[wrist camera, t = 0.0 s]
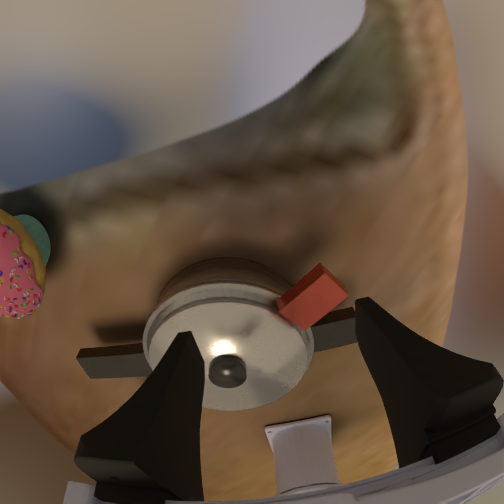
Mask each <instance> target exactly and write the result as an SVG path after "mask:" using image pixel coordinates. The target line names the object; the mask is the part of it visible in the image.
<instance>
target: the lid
mask: <svg viewBox="0 0 504 504" xmlns="http://www.w3.org/2000/svg"><path fill="white" fill-rule="evenodd" d="M348 296H349V295H348V293H347V291H346V289H345V287H344V285H343V284H342V283H341V282H340V281H339V280H338V279H336V278H335V277H334V276H333V275H332V274H331V273H330V272H329V271H328V270H327V269H326V268H325V267H324V266H323V265H322V264H321V263H319V264H318V265H317V266H316V267H315V268H313V269H312V270H311V271H310V272H309V273H308V274H307V275H305V276H304V277H303V278H302V279H301V280H300V281H299V282H297V283H296V284H295V285H294V286H293V287H292V288H290V289H289V290H288V291H287V292H286V293H285V294H283V295H282V296H281V297H280V298H279V299H277V304H278V310H277V309H275V308H273V307H271V306H269V305H267V304H264V303H261V302H258V301H255V300H251V299H246V298H239V297H211V298H205V299H200V300H196V301H193V302H190V303H187V304H185V305H183V306H180V307H178V308H177V309H175V310H174V311H172V312H170V313H169V314H168V315H167V316H166V317H165V318H164V319H163V320H162V321H161V322H160V323H159V324H158V326H157V328H156V330H155V331H154V334H153V337H152V340H151V344H150V349H149V361H150V365H151V368H152V370H154V369H155V367H156V366H157V364H158V363H159V361H160V360H161V358H162V357H163V355H164V354H165V352H166V351H167V349H168V348H169V346H170V344H171V343H172V341H173V340H174V338H175V337H176V335H177V334H178V332H185V331H192V334H193V336H194V339H195V341H196V343H197V346H198V348H199V350H200V353H201V355H202V357H203V359H204V362H205V386H204V394H203V403H202V407H205V408H209V409H215V410H231V411H233V410H245V409H251V408H256V407H260V406H263V405H266V404H269V403H271V402H273V401H275V400H277V399H279V398H281V397H283V396H284V395H285V394H287V393H288V392H289V391H291V390H292V389H293V388H294V387H295V386H296V385H297V383H298V382H299V381H300V379H301V378H302V376H303V374H304V372H305V369H306V365H307V351H306V346H305V342H304V339H303V336H302V334H301V332H300V330H299V329H298V327H300V328H301V329H302V330H304V331H306V330H307V329H308V328H309V327H311V326H312V325H313V324H315V323H316V322H317V321H318V320H320V319H321V318H322V317H323V316H325V315H326V314H327V313H328V312H330V311H331V310H332V309H333V308H335V307H336V306H337V305H338V304H340V303H341V302H342V301H343V300H344V299H346V298H347V297H348ZM295 324H296V325H297V326H298V327H297V326H296V325H295Z"/></svg>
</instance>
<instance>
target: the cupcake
mask: <svg viewBox="0 0 504 504" xmlns="http://www.w3.org/2000/svg"><path fill="white" fill-rule="evenodd" d="M50 252H51V245H50V239H49V236H48V234H47V232H46V230H45V228H44V227H43V225H42V224H41V223H40V222H39V221H38V220H37V219H35V218H34V217H32V216H29V215H18V216H11V215H10V214H8V213H7V212H5V211H3V210H2V209H0V315H1V316H2V315H3V316H5V317H6V316H7V317H6V318H8V317H16V318H20V317H23V316H24V315H31V313H32V312H33V311H34V310H35V309H36V308H37V307H39V305H40V304H41V302H42V299H43V295H44V287H45V279H46V264H47V261H48V259H49V256H50Z"/></svg>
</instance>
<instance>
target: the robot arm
mask: <svg viewBox="0 0 504 504" xmlns="http://www.w3.org/2000/svg"><path fill="white" fill-rule="evenodd" d="M355 335H356V338H357V341H358V345H359V348H360V351H361V353H362V356H363V358H364V360H365V362H366V364H367V366H368V369H369V371H370V373H371V375H372V377H373V379H374V381H375V384H376V386H377V388H378V390H379V393H380V395H381V398H382V401H383V404H384V407H385V410H386V413H387V417H388V420H389V424H390V428H391V432H392V436H393V440H394V444H395V448H396V453H397V458H398V463H399V469H397V470H393V471H390V472H387V473H384V474H381V475H378V476H374V477H371V478H368V479H364V480H360V481H357V482H353V483H349V484H345V485H342V483H340V482H339V478H338V473H337V469H336V464H335V459H334V455H333V450H332V446H331V416H330V415H325V416H321V417H316V418H311V419H306V420H301V421H296V422H290V423H284V424H278V425H272V426H267V427H265V432H266V435H267V438H268V440H269V443H270V446H271V448H272V451H273V454H274V464H275V474H276V485H277V495H275V497H272V498H262V499H251V500H237V501H204V495H203V487H202V477H201V463H200V420H201V411H202V403H203V394H204V386H205V362H204V359H203V357H202V355H201V353H200V350H199V348H198V346H197V343H196V341H195V339H194V336H193V334H192V331H185V332H178V334H177V335H176V337H175V338H174V340H173V341H172V343H171V344H170V346H169V348H168V349H167V351H166V352H165V354H164V355H163V357H162V358H161V360H160V361H159V363H158V364H157V366H156V367H155V369H154V370H153V371H152V373H151V374H150V375H149V377H148V378H147V379H146V381H145V382H144V383H143V385H142V386H141V387H140V388H139V389H138V390H137V391H136V392H135V394H134V395H133V396H132V397H131V398H130V399H129V400H128V401H127V402H126V403H125V404H123V405H122V406H121V407H120V408H119V409H118V410H117V411H116V412H115V413H113V414H112V415H111V416H110V417H109V418H107V419H106V420H105V421H103V422H102V423H100V424H99V425H98V426H96V427H94V428H93V429H91V430H90V431H88V432H87V433H85V434H83V435H81V438H80V441H79V444H78V447H77V450H76V454H75V457H74V462H75V464H76V465H77V467H78V468H79V469H81V470H82V471H83V472H84V473H86V474H87V475H88V476H90V477H91V478H92V479H94V480H95V481H97V484H96V487H93V486H91V485H87V484H83V483H78V482H74V481H69V482H68V486H67V490H66V494H65V498H64V502H63V504H466V503H468V502H469V501H471V500H473V499H475V498H476V497H478V496H480V495H481V494H483V493H485V492H486V491H488V490H490V489H491V488H493V487H494V486H496V485H497V484H499V483H501V482H502V481H504V414H502V415H501V416H500V417H499V418H498V419H496V417H495V415H494V413H495V412H496V409H495V407H494V406H493V403H494V401H495V400H496V398H497V397H498V395H499V393H500V391H501V389H502V387H503V381H504V380H503V379H502V377H501V375H500V374H499V372H498V371H497V369H496V368H495V367H494V366H493V364H492V363H488V362H484V361H479V360H475V359H472V358H468V357H465V356H462V355H459V354H456V353H454V352H451V351H449V350H447V349H445V348H442V347H440V346H438V345H436V344H434V343H432V342H430V341H429V340H427V339H425V338H423V337H421V336H420V335H418V334H416V333H415V332H413V331H412V330H410V329H409V328H408V327H406V326H405V325H403V324H402V323H401V322H399V321H398V320H397V319H395V318H394V317H393V316H392V315H390V314H389V313H388V312H387V311H385V310H384V309H383V308H382V307H380V306H379V305H378V304H377V303H376V302H374V301H373V300H372V299H371V298H369V297H365V298H361V299H357V300H355Z"/></svg>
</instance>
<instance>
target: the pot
mask: <svg viewBox="0 0 504 504" xmlns="http://www.w3.org/2000/svg"><path fill="white" fill-rule="evenodd" d="M290 288H292V286H291V285H290V284H289V283H288V282H287V281H286V280H285V279H284V278H283V277H282V276H281V275H280V274H278V273H277V272H275V271H274V270H272V269H271V268H268V267H266V266H264V265H262V264H259V263H257V262H254V261H250V260H245V259H239V258H216V259H209V260H205V261H201V262H198V263H196V264H193V265H191V266H189V267H187V268H185V269H183V270H182V271H180V272H179V273H178V274H176V275H175V276H174V277H173V278H172V279H171V280H170V281H169V282H168V283H167V285H166V286H165V287H164V289H163V291H162V293H161V295H160V298H159V300H158V303H157V306H156V307H155V309H154V310H153V312H152V313H151V315H150V317H149V319H148V321H147V323H146V326H145V330H144V334H143V343H138V344H129V345H119V346H108V347H96V348H83V349H80V351H79V353H78V355H77V357H76V359H77V360H78V362H79V363H80V365H81V366H82V368H83V369H84V370H85V372H86V373H87V375H88V376H89V377H90V379H93V378H122V377H140V376H149V375H150V374H151V373H152V371H153V370H152V368H151V365H150V361H149V349H150V344H151V340H152V337H153V334H154V331H155V330H156V328H157V326H158V324H159V323H160V322H161V321H162V320H163V319H164V318H165V317H166V316H167V315H168V314H169V313H170V312H172V311H174V310H175V309H177V308H178V307H180V306H183V305H185V304H187V303H190V302H193V301H196V300H200V299H205V298H211V297H239V298H246V299H251V300H255V301H258V302H261V303H264V304H267V305H269V306H271V307H273V308H275V309H277V310H278V304H277V299H279V298H280V297H281V296H282V295H283V294H285V293H286V292H287V291H288V290H289V289H290ZM295 325H296V324H295ZM296 326H297V325H296ZM297 327H298V326H297ZM298 329H299V330H300V332H301V334H302V336H303V339H304V342H305V346H306V351H307V365H306V369H305V372H306V370H307V368H308V367H309V365H310V362H311V360H312V357H313V352H318V351H322V350H327V349H331V348H336V347H340V346H344V345H348V344H353V343H357V338H356V335H355V311H354V309H353V307H349V308H345V309H341V310H336V311H332V312H328V313H327V314H326V315H325V316H323V317H322V318H321V319H320V320H318V321H317V322H316V323H315V324H313V325H312V326H311V327H309V328H308V329H307V330H306V331H304V330H302V329H301V328H300V327H298ZM305 372H304V373H305Z"/></svg>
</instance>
